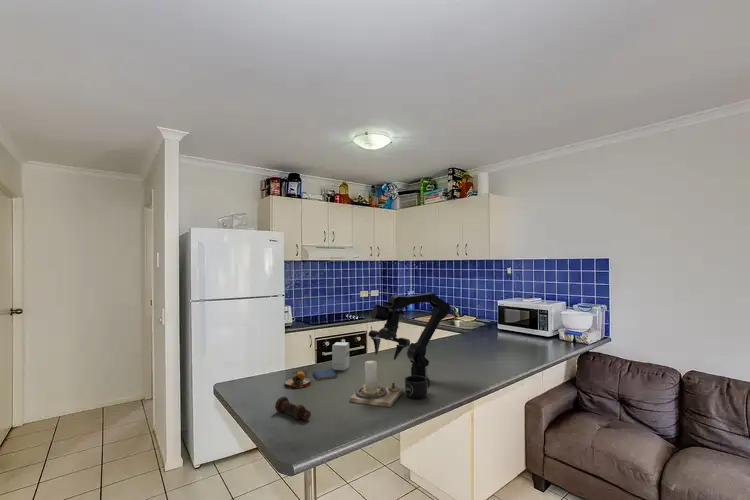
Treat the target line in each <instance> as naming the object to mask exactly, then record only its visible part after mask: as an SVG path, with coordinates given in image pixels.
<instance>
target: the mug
mask: <svg viewBox="0 0 750 500" xmlns="http://www.w3.org/2000/svg"><path fill="white" fill-rule="evenodd" d="M430 385H431V383H430V378H428V377H426V378H425V377H423V376H416V375H415V376H411V375H408V376H407V377H405V379H404V390H405V391H404V392H405V394H406V395H405V396H407V397H409V398H410V399H415V400H417V399H423V398H425V397H426V396H427V395H428V389H429V388H430Z"/></svg>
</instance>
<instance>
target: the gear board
mask: <svg viewBox="0 0 750 500" xmlns="http://www.w3.org/2000/svg"><path fill="white" fill-rule="evenodd" d="M391 383H392V384H391V386H382V385H377V387H378V388H379V389H381V393H379V395H373V396H368V395H364V394H362V389H363V388H364V387H365V384H363V385H362V386H359V387H358V388H356V389H355V392H354V393H353V394H352V395H351V396H350V397H349V402H351V403H358V404H365V405H372V406H378V405H379V406H380V407H387V408H391V407H392V406H393V405H394V403H395V402H397V401H396V400H398V398H399V397H400V396H401V394H403V389H402V388H399V387H398V386H395V385H396V384H395V382H391ZM379 406H378V407H379Z"/></svg>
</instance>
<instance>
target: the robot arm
mask: <svg viewBox="0 0 750 500" xmlns="http://www.w3.org/2000/svg"><path fill="white" fill-rule="evenodd" d="M422 303H423V304H424V303H428V304H429V305H430V306H431V307H432V309H431V315H430V318H429V320H428V322H427V323H426V324H425V327H424V329H423V330H422V331H421V335H420V336H419V338H418V340H416V342H414V343H413V342H411V339H408V338H405V337H399V338H398V337H397V336H398V335H397V333H398V329H399V327H400V326H399V324H400V318H401V315H402V316H405V315H406V313H405V312H404V310H403V309H405V308H407V307H408V306H412V305H415V304H422ZM450 312H451V306H450V303H449V302H446V301H445V300H443V299H442V298H440V297H439V296H437V294H435V293H433V292H426V293H420V294H412V295H391V296H390V297H389V299H388V301H387V302H386V303H385V304H383V305H381V304H377V303H375V305H374V307H372V310H371V312H370V313H371V314H370V317H371V319H372V320H376V321H381V322H385V323H384V326H383V327H382V328H380V329H379V331H378V330H375V329H374V330H370V331H369V332H368V335H367V336H368V337H369V338H370V339H371V340H372V342H373V345H374V355H378V353H379V351H380V350H379V349H380V345H381V340H382V339H383V340H385V341H390V342H391V341H392V342H395V343H397V344H396V349H395V353H394V356H393V360H394V361H396V359H397V358H398V356H399V355H400V353H401V352H402V351H403V349H404V348H407V347H408V348H407V349H406V350H407V352H406V355H407V359H408V360H409V361H410V364H411V365H412V366H411V367H410V376H415V375H416V376H423V377H425V378H428V374H427V373H428V372H427V371H428V370H427V367H429V364H430V360H428V358H426V355H427V348H428V347H427V346H428V344H429V343H430V340H431V339H432V337H433V335H434V333H435V332H436V330H437V328H438V327H439V324H440V322H441V321H442V320H443V319H445V318H447V316H448V315H449V313H450Z"/></svg>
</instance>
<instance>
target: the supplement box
mask: <svg viewBox="0 0 750 500" xmlns="http://www.w3.org/2000/svg"><path fill="white" fill-rule="evenodd" d="M331 346H332V347H331V351H332V353H331V354H332V355H331V358H332V361H331V363H332V365H331V366H332V367H331V368H332V369H333V370H334V371H346V370H347V369H348V368H349V367H350V342H344V341H343V342H342V341H340V342H339V341H336V342H335V343H334V344H332V345H331ZM332 369H331V370H332Z"/></svg>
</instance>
